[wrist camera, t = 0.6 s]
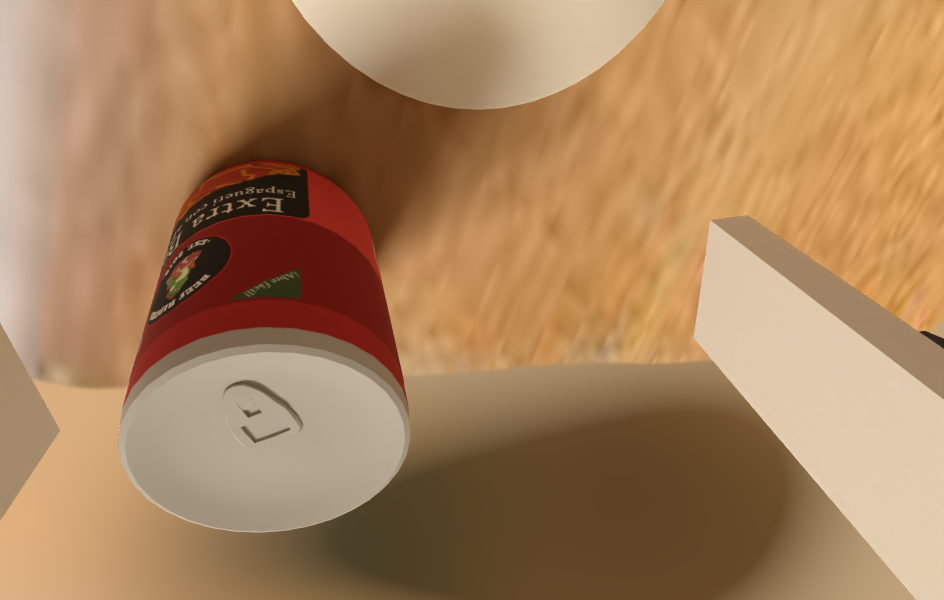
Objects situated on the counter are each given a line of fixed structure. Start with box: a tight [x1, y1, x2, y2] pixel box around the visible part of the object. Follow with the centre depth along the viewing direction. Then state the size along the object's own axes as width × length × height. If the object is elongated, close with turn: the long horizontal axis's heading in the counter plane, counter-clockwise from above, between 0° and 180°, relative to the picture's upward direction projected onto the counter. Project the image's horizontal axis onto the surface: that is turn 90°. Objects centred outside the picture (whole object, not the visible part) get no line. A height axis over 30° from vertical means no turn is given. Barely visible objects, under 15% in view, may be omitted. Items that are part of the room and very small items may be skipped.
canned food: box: [118, 160, 410, 532], centre depth 21 cm, size 8×8×11 cm
